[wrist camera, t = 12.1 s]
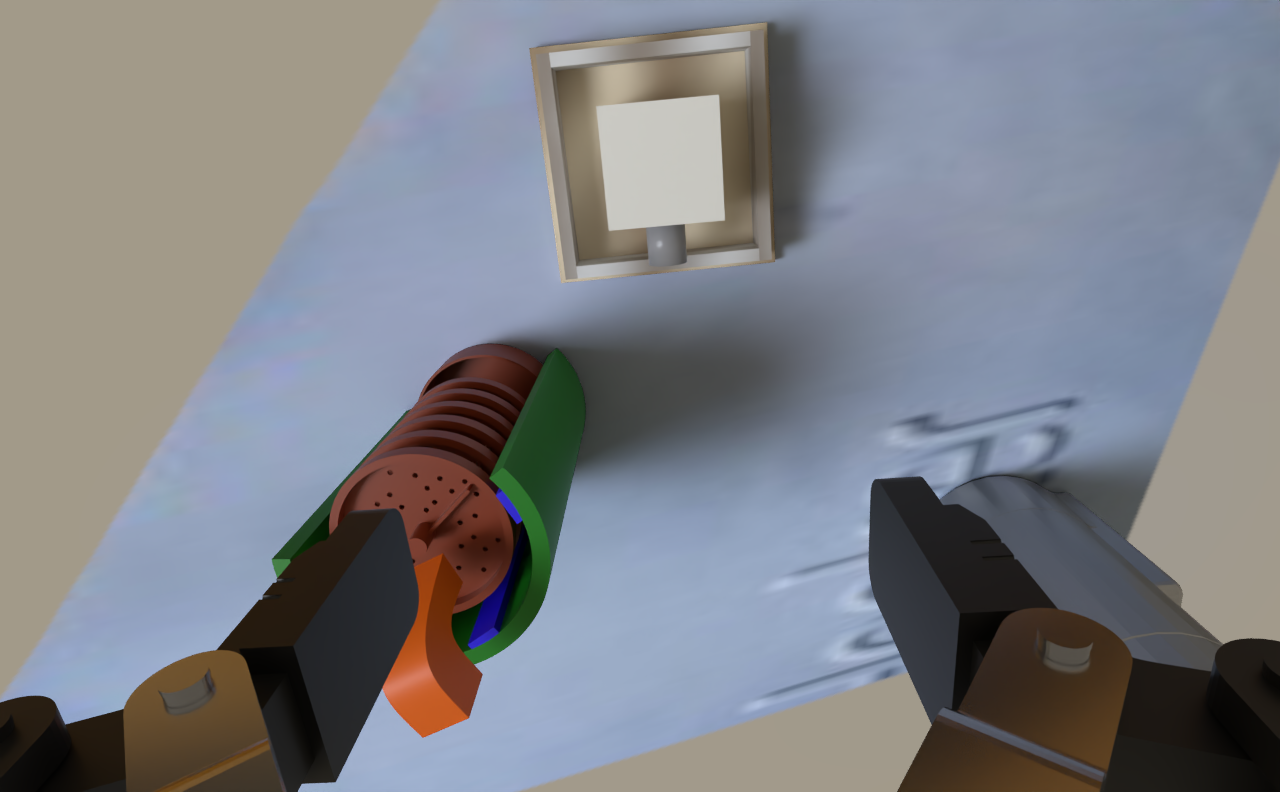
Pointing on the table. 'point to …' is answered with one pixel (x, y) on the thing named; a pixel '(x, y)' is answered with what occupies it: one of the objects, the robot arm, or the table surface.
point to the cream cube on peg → (662, 170)
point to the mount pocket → (651, 73)
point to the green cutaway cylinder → (468, 515)
